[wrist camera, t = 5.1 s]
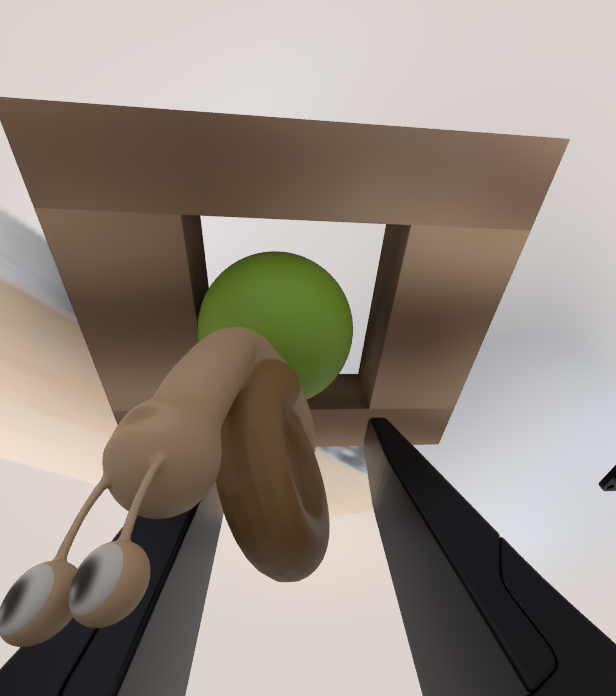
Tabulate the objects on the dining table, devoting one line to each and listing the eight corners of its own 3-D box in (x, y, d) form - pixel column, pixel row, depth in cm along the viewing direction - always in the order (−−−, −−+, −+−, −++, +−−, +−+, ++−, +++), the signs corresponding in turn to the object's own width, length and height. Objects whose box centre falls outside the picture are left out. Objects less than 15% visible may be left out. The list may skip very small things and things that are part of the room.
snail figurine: (301, 181, 12) (426, 514, 2) (356, 323, 15) (500, 702, 5) (171, 243, 12) (-242, 696, 3) (251, 364, 16) (204, 752, 6)
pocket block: (420, 408, 19) (438, 444, 16) (145, 410, 17) (127, 449, 15) (517, 136, 11) (569, 139, 9) (51, 101, 10) (-9, 96, 8)
